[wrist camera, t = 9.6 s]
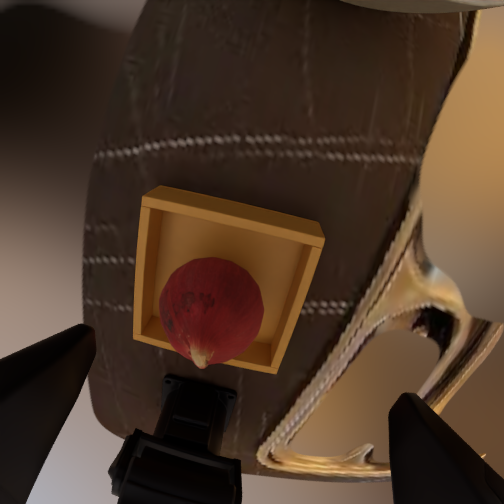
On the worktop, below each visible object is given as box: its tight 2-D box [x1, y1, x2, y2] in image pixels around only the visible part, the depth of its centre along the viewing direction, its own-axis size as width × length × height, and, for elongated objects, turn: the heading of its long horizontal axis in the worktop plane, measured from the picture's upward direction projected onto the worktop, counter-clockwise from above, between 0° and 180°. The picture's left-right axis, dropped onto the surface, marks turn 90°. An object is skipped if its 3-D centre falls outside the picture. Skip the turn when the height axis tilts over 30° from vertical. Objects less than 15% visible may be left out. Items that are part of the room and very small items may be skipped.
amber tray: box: [133, 185, 325, 374], centre depth 20 cm, size 10×10×3 cm
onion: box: [159, 257, 264, 369], centre depth 17 cm, size 6×6×8 cm
